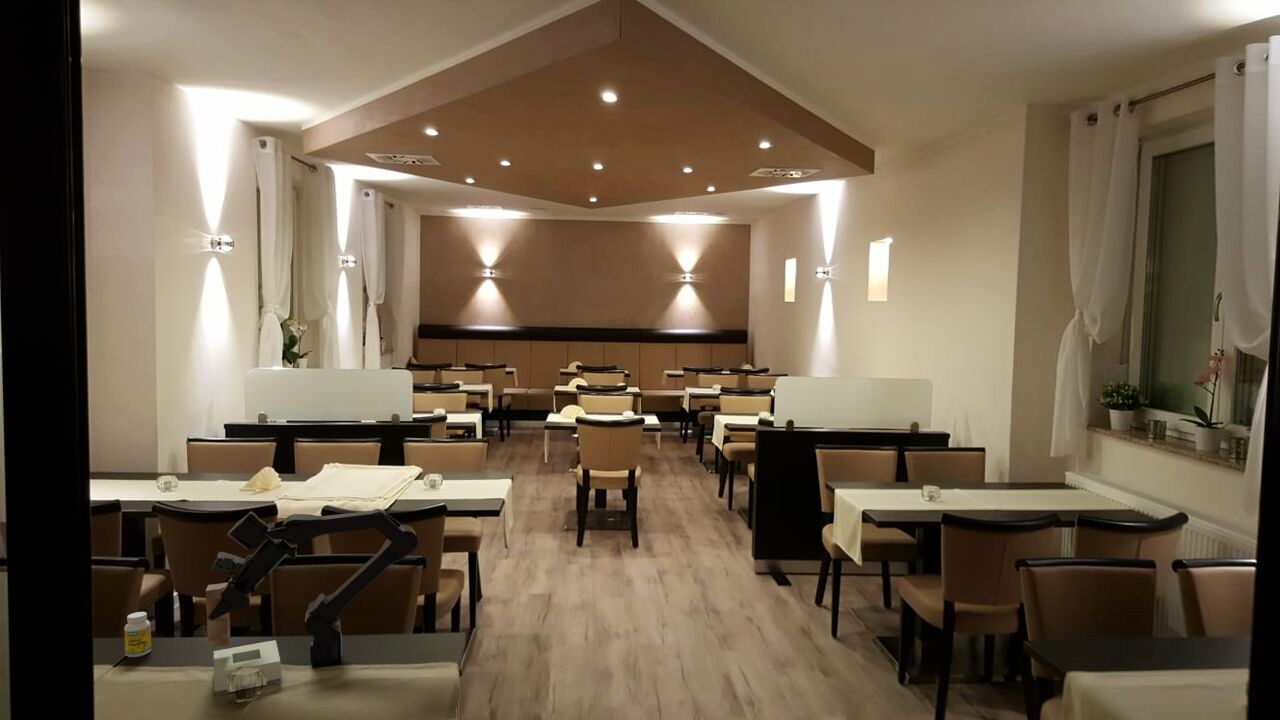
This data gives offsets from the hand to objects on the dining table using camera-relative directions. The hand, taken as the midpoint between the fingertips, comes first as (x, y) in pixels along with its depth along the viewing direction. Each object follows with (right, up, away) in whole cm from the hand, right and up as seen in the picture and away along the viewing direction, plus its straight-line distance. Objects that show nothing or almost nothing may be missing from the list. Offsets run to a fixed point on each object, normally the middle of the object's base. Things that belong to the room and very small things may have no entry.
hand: (211, 615), depth 173 cm
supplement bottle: (-26, -14, +14) cm, 32 cm away
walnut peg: (+1, -7, +1) cm, 7 cm away
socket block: (+7, -15, +1) cm, 16 cm away
